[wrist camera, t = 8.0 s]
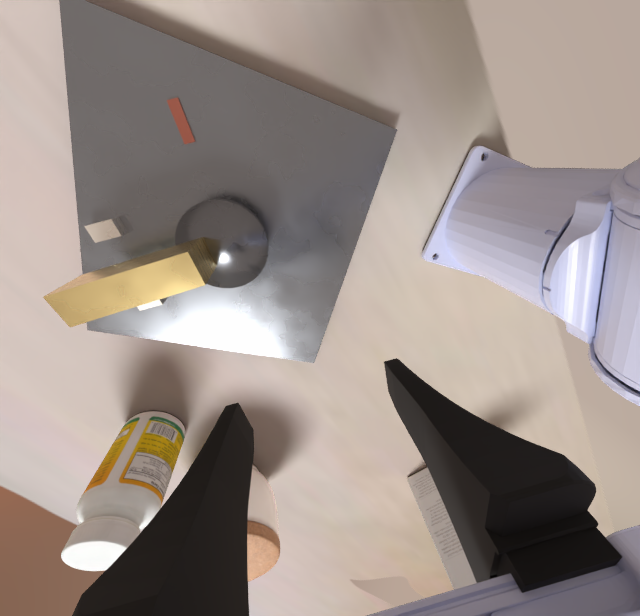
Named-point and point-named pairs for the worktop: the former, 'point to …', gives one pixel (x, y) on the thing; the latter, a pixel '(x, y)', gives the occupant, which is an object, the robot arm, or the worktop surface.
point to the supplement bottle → (125, 490)
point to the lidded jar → (261, 527)
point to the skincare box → (441, 529)
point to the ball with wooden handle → (173, 264)
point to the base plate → (213, 180)
